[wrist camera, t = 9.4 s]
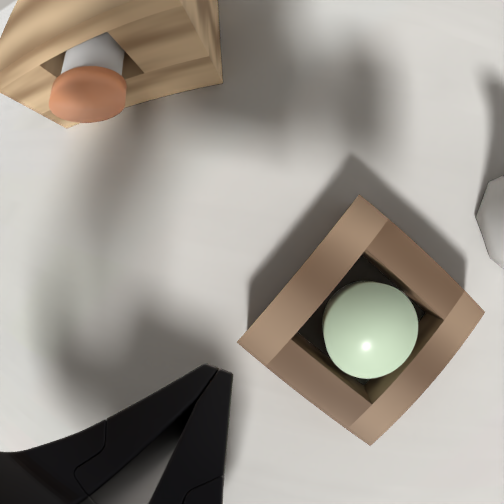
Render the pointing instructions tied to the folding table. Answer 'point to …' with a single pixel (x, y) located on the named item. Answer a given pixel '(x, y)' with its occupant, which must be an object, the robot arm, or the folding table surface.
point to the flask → (493, 220)
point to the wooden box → (124, 33)
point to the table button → (369, 329)
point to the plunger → (90, 82)
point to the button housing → (317, 290)
